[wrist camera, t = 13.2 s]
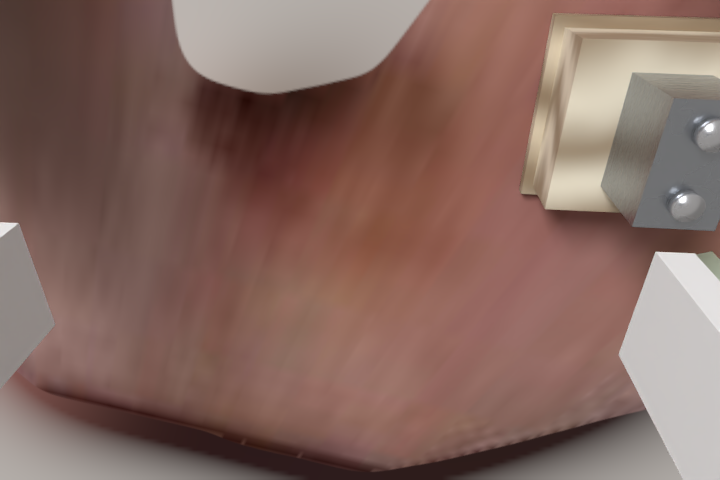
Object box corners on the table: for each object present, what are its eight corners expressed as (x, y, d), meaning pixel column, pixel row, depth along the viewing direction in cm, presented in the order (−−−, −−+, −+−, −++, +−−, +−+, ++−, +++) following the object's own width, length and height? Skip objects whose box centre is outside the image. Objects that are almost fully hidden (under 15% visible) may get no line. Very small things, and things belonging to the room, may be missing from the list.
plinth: (552, 13, 37) (572, 24, 33) (753, 18, 36) (800, 31, 32) (519, 189, 44) (532, 218, 40) (687, 197, 43) (718, 226, 39)
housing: (600, 185, 38) (636, 233, 32) (632, 72, 34) (680, 102, 28) (671, 189, 38) (721, 237, 32) (712, 75, 34) (778, 106, 28)
